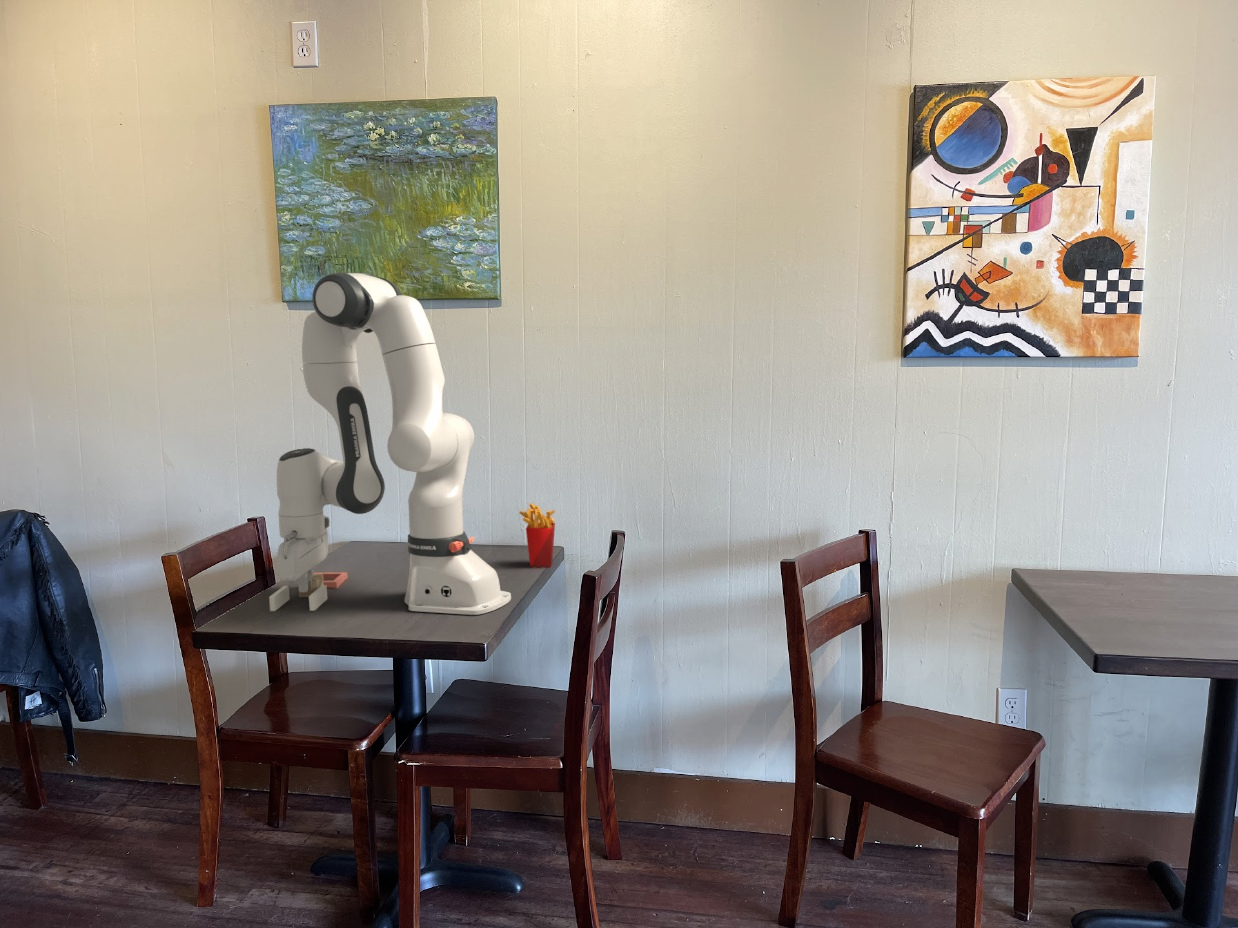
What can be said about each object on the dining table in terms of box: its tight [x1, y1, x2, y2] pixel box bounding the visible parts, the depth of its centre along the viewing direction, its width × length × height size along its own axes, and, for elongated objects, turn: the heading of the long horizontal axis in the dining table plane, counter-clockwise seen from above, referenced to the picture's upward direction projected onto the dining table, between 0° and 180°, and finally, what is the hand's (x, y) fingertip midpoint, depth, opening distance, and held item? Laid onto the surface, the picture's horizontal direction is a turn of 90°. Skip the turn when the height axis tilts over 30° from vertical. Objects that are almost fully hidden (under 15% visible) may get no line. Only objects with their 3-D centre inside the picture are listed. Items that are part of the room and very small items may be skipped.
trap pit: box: [313, 571, 348, 590], centre depth 193 cm, size 8×8×2 cm
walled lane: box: [268, 585, 328, 612], centre depth 177 cm, size 8×9×3 cm
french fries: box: [519, 503, 556, 569], centre depth 206 cm, size 9×8×15 cm
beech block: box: [297, 574, 324, 598], centre depth 185 cm, size 4×4×4 cm
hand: (305, 590), depth 181 cm, fingers closed
